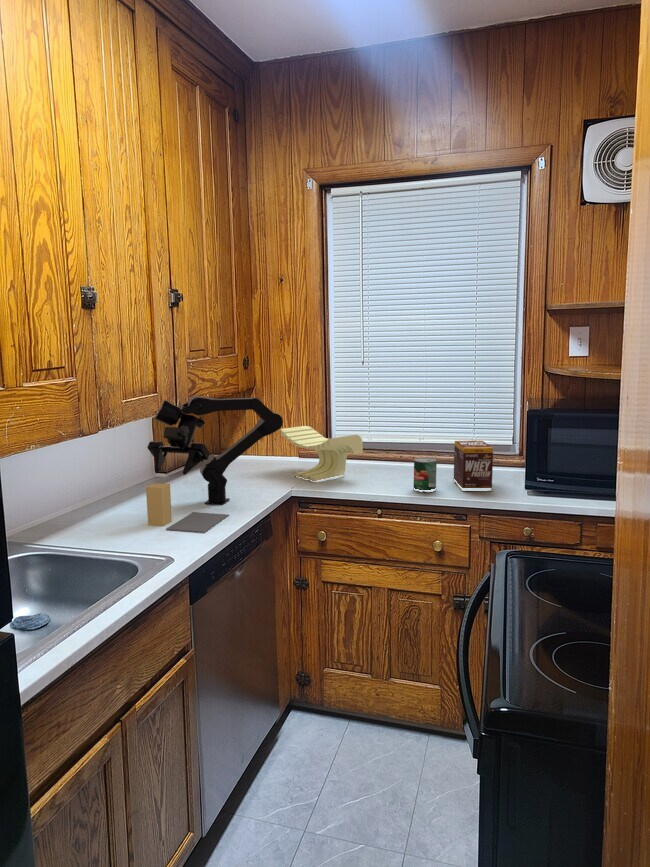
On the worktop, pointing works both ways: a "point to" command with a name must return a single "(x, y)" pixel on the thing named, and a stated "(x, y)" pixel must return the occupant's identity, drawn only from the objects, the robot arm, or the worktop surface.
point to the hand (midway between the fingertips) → (170, 473)
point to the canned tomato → (425, 473)
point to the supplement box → (473, 464)
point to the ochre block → (158, 504)
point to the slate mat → (197, 522)
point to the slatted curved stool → (324, 451)
